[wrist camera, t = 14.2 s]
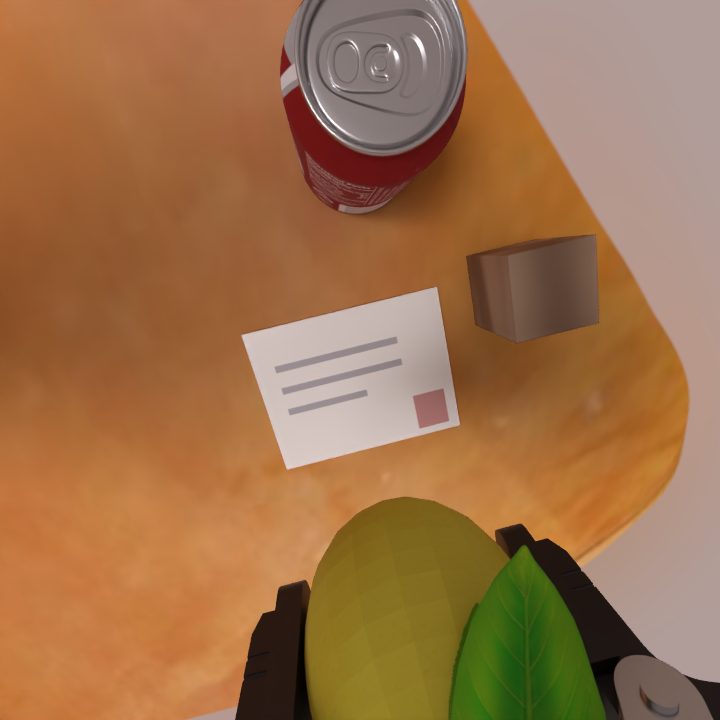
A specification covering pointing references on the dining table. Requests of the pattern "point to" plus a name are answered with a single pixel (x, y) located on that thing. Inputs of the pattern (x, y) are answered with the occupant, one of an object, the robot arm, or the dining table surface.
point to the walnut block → (536, 287)
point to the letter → (355, 377)
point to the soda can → (371, 93)
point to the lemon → (439, 626)
